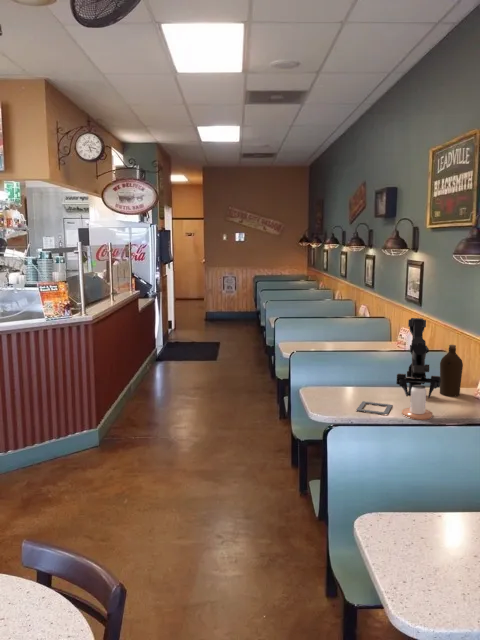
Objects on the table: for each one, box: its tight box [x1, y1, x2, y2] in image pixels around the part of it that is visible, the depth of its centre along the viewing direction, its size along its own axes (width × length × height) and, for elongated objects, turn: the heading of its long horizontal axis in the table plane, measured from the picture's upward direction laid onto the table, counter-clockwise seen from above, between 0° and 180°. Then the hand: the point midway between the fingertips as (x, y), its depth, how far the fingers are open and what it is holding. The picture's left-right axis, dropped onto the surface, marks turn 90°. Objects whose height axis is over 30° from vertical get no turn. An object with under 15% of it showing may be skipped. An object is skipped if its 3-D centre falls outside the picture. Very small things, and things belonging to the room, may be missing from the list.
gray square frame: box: [355, 400, 393, 415], centre depth 250 cm, size 14×14×1 cm
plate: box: [401, 407, 434, 421], centre depth 242 cm, size 13×13×1 cm
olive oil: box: [439, 344, 464, 397], centre depth 270 cm, size 11×11×25 cm
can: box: [409, 384, 427, 415], centre depth 240 cm, size 6×6×12 cm
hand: (418, 397), depth 239 cm, fingers open, 9 cm apart
